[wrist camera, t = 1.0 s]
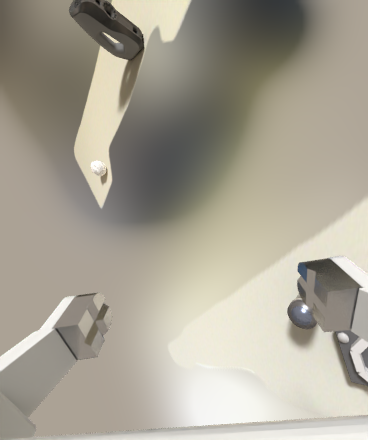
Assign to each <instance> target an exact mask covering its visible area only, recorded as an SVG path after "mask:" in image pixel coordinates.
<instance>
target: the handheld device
mask: <svg viewBox="0 0 368 440" xmlns="http://www.w3.org/2000/svg"><path fill="white" fill-rule="evenodd" d="M69 12H70V15H71V16H72V18H74V20H75V21H76V22H77V23H78V24H79V25H80V26H81V27H82V28H83V29H84V30H85V31H86V32H87V33H88V34H89V35H90V36H91V37H92V38H93V39H94V40H95V41H96V42H97V43H98V44H100V45H101V46H102V47H103V48H104V49H106V50H107V51H108V52H110V53H111V54H113V55H114V56H117V57H119V58H123V59H127V60H131V59H133V58H134V57H135V55H136V54H137V53H138V52H139V51H140V50H141V49H143V48H144V46H143V42H142V36H143V34H142V32H141V30H140V29H139V28H138V27H137V26H136V25H134V24H133V23H132V22H130V21H129V20H128V19H127V18H125V17H124V16H123V15H122V14H120V13H119V12H118V11H117V10H115V8H114V7H113V6H112V5H111V4H110V3H109V2H108V1H104V0H73V2H72V4H71V6H70V9H69ZM102 32H104V33H106V34H108V35H110V36H111V37H113V38H114V39H116V40H117V41H119V42H120V43H114V42H113V41H112V40H110V39H109V38H108V37H107V36H106V35H105V34H104V33H102Z"/></svg>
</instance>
